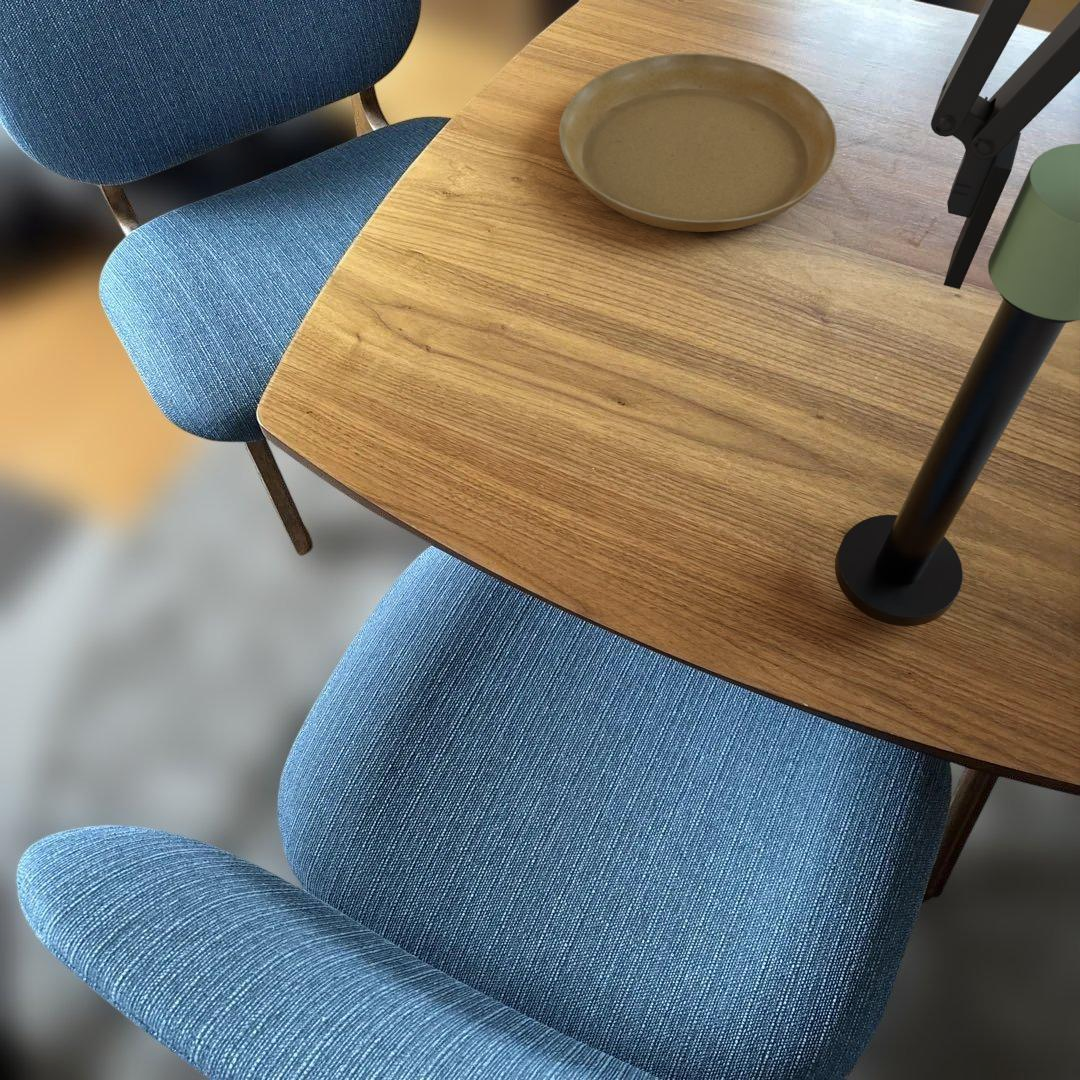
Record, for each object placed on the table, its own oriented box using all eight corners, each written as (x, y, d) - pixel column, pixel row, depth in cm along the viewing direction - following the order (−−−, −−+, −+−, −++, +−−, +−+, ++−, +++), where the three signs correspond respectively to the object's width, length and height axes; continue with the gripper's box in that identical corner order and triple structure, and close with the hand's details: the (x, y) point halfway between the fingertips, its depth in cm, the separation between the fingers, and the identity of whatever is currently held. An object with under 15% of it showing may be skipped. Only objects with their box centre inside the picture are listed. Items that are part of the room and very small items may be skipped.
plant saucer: (520, 117, 97) (519, 84, 94) (750, 60, 101) (755, 28, 98) (623, 283, 84) (625, 251, 81) (880, 210, 89) (890, 178, 86)
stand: (981, 601, 67) (1184, 309, 46) (877, 643, 66) (1035, 362, 44) (912, 509, 72) (1067, 201, 50) (812, 547, 70) (927, 245, 48)
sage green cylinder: (1142, 299, 46) (1200, 208, 42) (1039, 335, 45) (1088, 245, 41) (1061, 223, 49) (1109, 130, 45) (962, 255, 48) (1002, 163, 44)
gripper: (1775, -330, 28) (1283, 294, 47) (1017, -411, 33) (847, 189, 52) (1845, -219, 24) (1279, 410, 44) (977, -328, 29) (809, 287, 48)
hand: (1045, 290), depth 48 cm, fingers open, 7 cm apart
